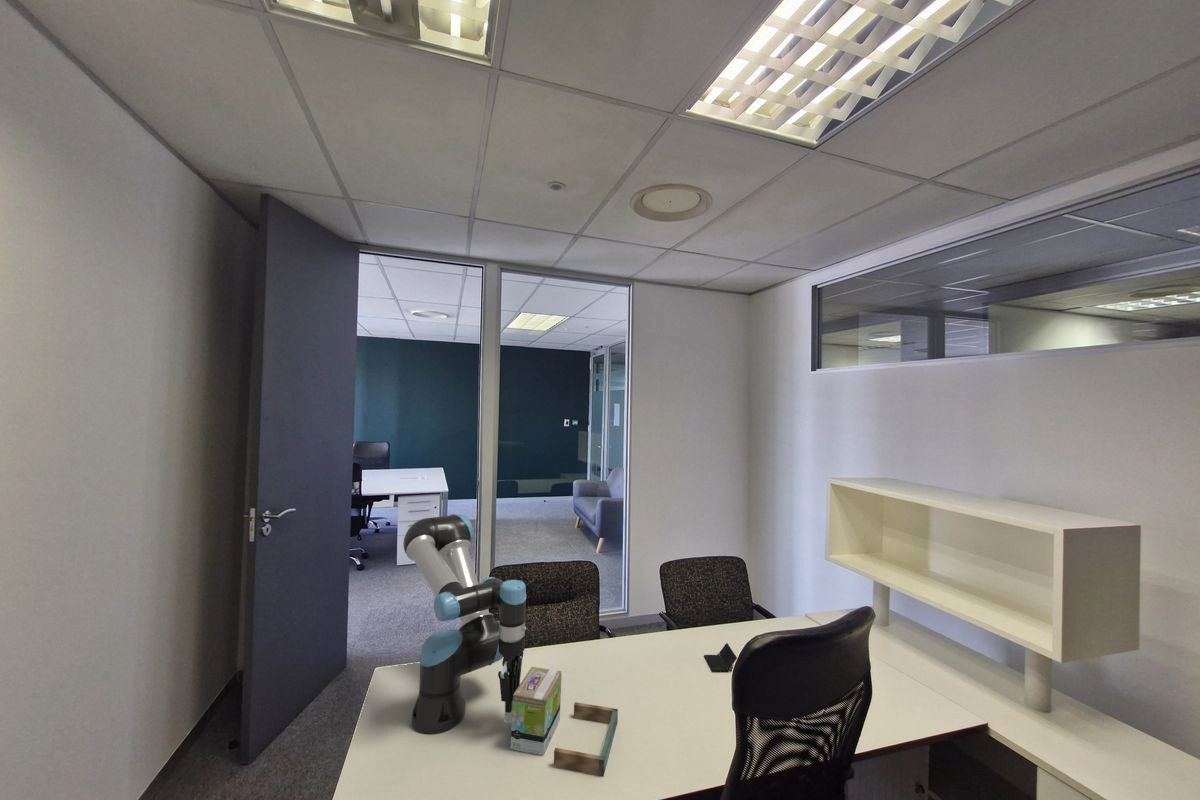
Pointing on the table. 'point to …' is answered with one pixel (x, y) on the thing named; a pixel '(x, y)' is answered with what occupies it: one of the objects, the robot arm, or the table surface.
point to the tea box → (536, 710)
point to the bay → (584, 760)
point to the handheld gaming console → (721, 660)
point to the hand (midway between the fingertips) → (509, 720)
